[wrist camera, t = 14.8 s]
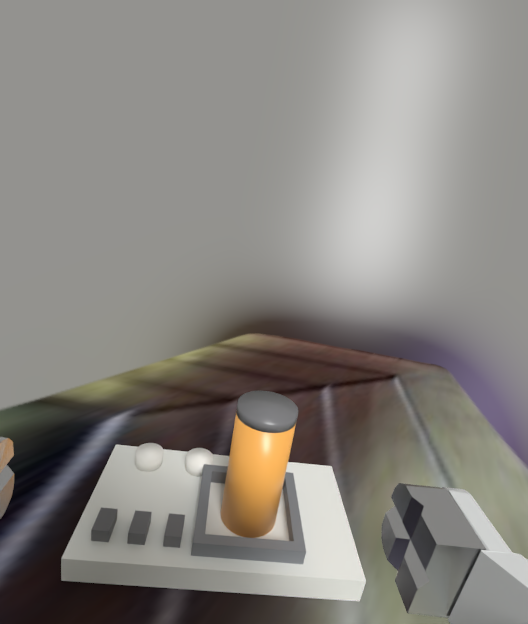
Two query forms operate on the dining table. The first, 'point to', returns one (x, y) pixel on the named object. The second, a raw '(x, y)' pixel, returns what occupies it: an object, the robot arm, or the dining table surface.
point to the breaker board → (210, 530)
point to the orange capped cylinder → (257, 462)
